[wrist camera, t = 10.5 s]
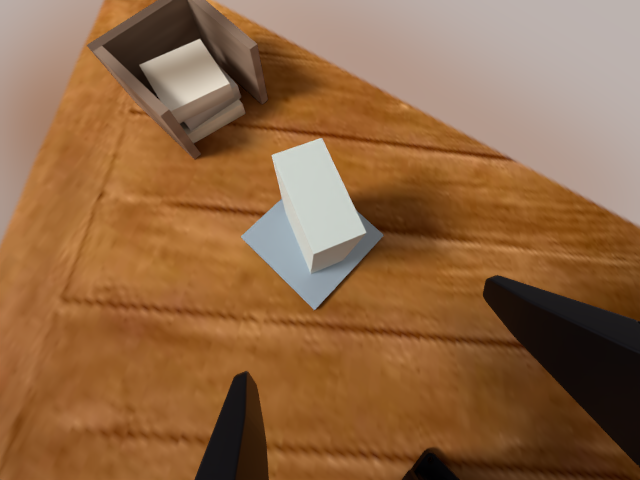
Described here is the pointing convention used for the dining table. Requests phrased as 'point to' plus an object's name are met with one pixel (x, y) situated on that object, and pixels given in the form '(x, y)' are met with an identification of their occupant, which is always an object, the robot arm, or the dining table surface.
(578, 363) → the robot arm
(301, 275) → the mat
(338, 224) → the pale grey rectangular block
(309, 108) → the dining table surface
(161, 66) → the offcut stack
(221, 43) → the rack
